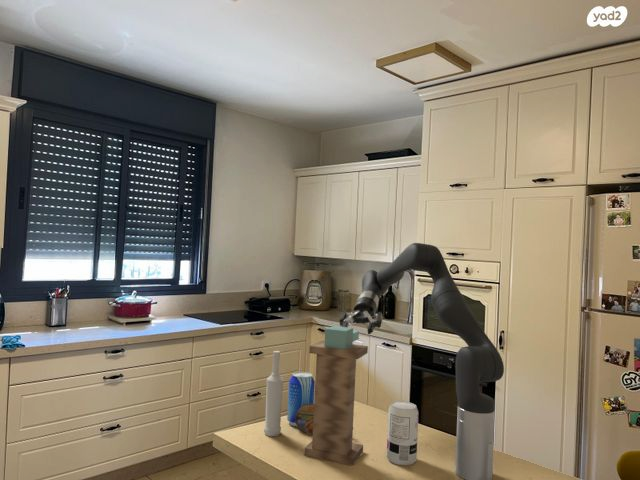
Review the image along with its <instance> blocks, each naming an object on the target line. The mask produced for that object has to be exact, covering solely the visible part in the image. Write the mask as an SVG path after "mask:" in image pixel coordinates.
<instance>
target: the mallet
mask: <svg viewBox="0 0 640 480" xmlns="http://www.w3.org/2000/svg"><path fill="white" fill-rule="evenodd" d="M359 332H360V331H359V330H354V327H349V326H348V327H342V326H340V325H339V326H338V325H337V326H336V325H332V326H330V327H327V328H325V329H324V341H325V344H324V347H329V348H337V349H347V348H349V347H351V346H353V344H354V343H353V342H355V341H357V340H359V338H360V336H359V335H360V333H359Z"/></svg>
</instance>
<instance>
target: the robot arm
mask: <svg viewBox="0 0 640 480" xmlns="http://www.w3.org/2000/svg"><path fill="white" fill-rule="evenodd" d="M411 270H413V271H415V272H423V273H427V274H428V275H429V276H430V278H431V280H432V282H433V287H432V291H431V295H430V300H431V301H430V302H431V305H432V307H433V310H434V311H435V313H436V315H437V317H438V318H439V321H441V323H442V324H443V325H444V326H445V327H446V328H448V329H449V330H450V331H451V332H453V333H454V334H456V335H457V336H458V337H459V338H460V339H462V341H464V343H465V344H466V345H467V346H462V347H461V348H459V349H458V351H457V353H456V358H455V392H456V393H455V394H456V398H457V410H456V411H457V413H456V414H457V415H456V416H457V418H456V436H455V437H456V441H455V443H456V444H455V463H454V465H455V467H454V471H455V474H456V475H457V476H458V477H460V478H461V479H464V480H493V473H494V472H493V469H494V467H493V465H494V436H495V435H494V433H495V432H494V431H495V409H496V407H495V405H496V404H495V400H494V398H493V397H491V396H489V395H487V394H485V393H482V392H481V390H480V383H492V382H497V381H499V380H501V379H502V378H503V376H504V372H505V367H504V366H505V365H504V361H503V359H502V357H501V354H500V352H499V350H498V349H497V348H496V346H495V345H494V342H492V341H491V339H490V338H489V337H488V335H487V334H486V332H485V331H484V329H483V328H482V327H481V325H480V323H479V322H478V321H477V318H476V317H475V316H474V315H475V314H473V312H472V310H471V308H470V307H469V305H468V303H467V301H466V299H465V298H464V296H463V294H462V292H461V291H460V290H459V288H458V286H457V284H456V282H455V281H454V279H453V277H452V274H451V273H450V271H449V269H448V266H447V263H446V261H445V258H444V256H443V254H442V252H441V251H440V249H439V248H438V247H437V246H435V245H432V244H427V243H420V242H413V243H411V244H409V245H408V246H407V247H406V248H405V249H404V250H402V252H401V253H400V254H399V255H398V256H396V258H395V259H394V260H392V262H390V263H388V265H385V266H384V267H382V268H380V269H379V270H378V271H377V270H374V269H371V270H367V272H365V274H364V275H363V277H362V279H361V280H362V281H361V293H360V295H359V296H358V298H357V300H356V302H355V305H354V308H353V311H351V312H348V311H347V310H343V311H342V313H341V315H340V316H339V318H338V322H339V327H348V328H349V327H350V326H353V325H355V324H363V325H364V324H366V325H368V326H367V330H366V331H367V335H371V334H372V333H374V329H376V328H378V329H379V328H381V327H382V324H383V323H382V322H383V319H384V318H383V313H382V311H379V312H378V313H377V312H376V311H377V310H378V308H379V307H378V306H379V302H380V299H381V296H383V295H385V294H386V292H387V291H388V290H389V288H390V287H391V286H392V285H394V284H396V283H398V282H400V281H401V280H402V279H403V277H404V275H405V271H411ZM374 319H376V320H374Z"/></svg>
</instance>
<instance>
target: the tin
mask: <svg viewBox="0 0 640 480" xmlns="http://www.w3.org/2000/svg"><path fill="white" fill-rule="evenodd" d="M313 416H314V404H305V405H303V406H301V407H300V408H299V409H298V411H297V412H296V415H295V422H296V425H297V426H298V427H297V428H298V429H299V430H301V432H304V433H307V432H308V433H309V434H310V433H311V434H313Z"/></svg>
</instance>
